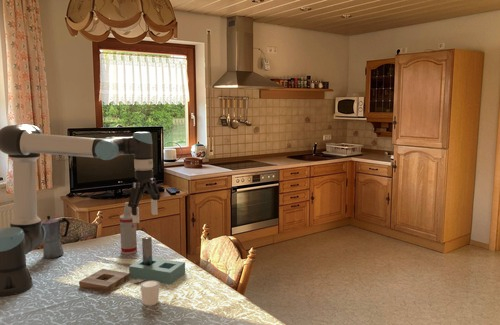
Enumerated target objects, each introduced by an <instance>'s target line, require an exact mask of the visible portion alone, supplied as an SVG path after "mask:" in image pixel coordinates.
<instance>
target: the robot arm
mask: <svg viewBox="0 0 500 325" xmlns="http://www.w3.org/2000/svg"><path fill="white" fill-rule="evenodd" d="M153 143H154V142H153V137H152V133H151V132H150V131H136V132H133V135H132V136H107V137H105V138H94V137H83V136H72V135H71V136H70V135H59V134H49V133H48V134H47V133H43V131H42V130H41V129H40V128H39V127H38V126H36V125H34V124H29V123H28V124H27V123H21V124H13V125H5V126H4V127H2V128H0V152H2V153H4V154H7V156H8V158H9V159H10V160H11V161H12V178H13V179H12V181H13V182H12V183H13V185H12V186H13V218H11V219H10V222H9V227H4V228H3V229H0V297H8V296H13V295H17V294H21V293H24V292H25V291H27V290H30V289H31V288H32V287H33V284H34V283H33V278H32V276H31V274H30V271H29V269H28V268H27V258H26V255H27V254H29V253H30V252H32V251H34V250H36V249H37V248H39V247H40V245H42V244H43V243H44V239H45V236H46V231H45V228H44V226H43V225H42V224H41V221H42V219H41V218H40V217H39V216H38V200H37V199H38V198H37V192H38V191H37V160H38V159H39V158H40V157H41V154H43V155H54V156H55V155H57V156H58V155H59V156H67V157H69V156H70V157H81V158H83V157H84V158H94V159H95V158H97V159H100V160H103V161H111V160H113V159H115V158H117V157H120V156H133V164H134V167H133V168H134V178H135V179H136V182H131V190H130V195H129V198H128V202H129V203H128V207H130V208H131V214H132V216H133V223H136V224H140V207H139V203H140V201H141V198H142V195H143V194H144V193H145V192H146V191H147V193H148V194H149V196H150V198H151V200H150V211H151V215H153V216H157V215H159V214H158V212H159V210H158V209H159V208H158V201H159V200H160V199H161V193H160V190H159V188H158V185H157V179H156V177H154V170H153V168H154V162H153V161H154V160H153V158H154V157H153V154H154V153H153Z"/></svg>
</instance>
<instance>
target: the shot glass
mask: <svg viewBox="0 0 500 325" xmlns="http://www.w3.org/2000/svg"><path fill="white" fill-rule="evenodd" d="M140 290H141V299H142V305H145V306H154V305H157V304H158V302H159V298H160V297H159V295H160V294H159V293H160V282H158V281H154V280H150V281H148V280H144V281H143V282H141V283H140Z"/></svg>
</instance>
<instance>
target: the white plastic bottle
mask: <svg viewBox="0 0 500 325" xmlns="http://www.w3.org/2000/svg"><path fill="white" fill-rule="evenodd" d="M128 203H129V201H126V202H124V209H123V214H121V215H119V229H120V230H119V231H120V249H121V250H120V252H121V254H123V255H131V254H132V253H133V254H135V253H137V252H138V244H137V243H138V241H137V239H138V238H137V223H133V216H132V208H131V207H128Z"/></svg>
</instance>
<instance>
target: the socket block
mask: <svg viewBox="0 0 500 325" xmlns="http://www.w3.org/2000/svg"><path fill="white" fill-rule="evenodd" d="M130 279H131V278H130V273H129V272H126V271H119V270H113V269H107V268H106V269H105V268H100V270H97V271H96V272H93V273H92V274H90V275H88V276H86V277H85V278H83V279H81V280H79V281H78V285H79V286H78V287H79V288H81V289H86V290H92V291H96V292H104V293H110V292H112V291H113V290H114V289H116V288H118V287H120V286H121V285H122V284H124V283H126V282H127V281H129V280H130Z"/></svg>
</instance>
